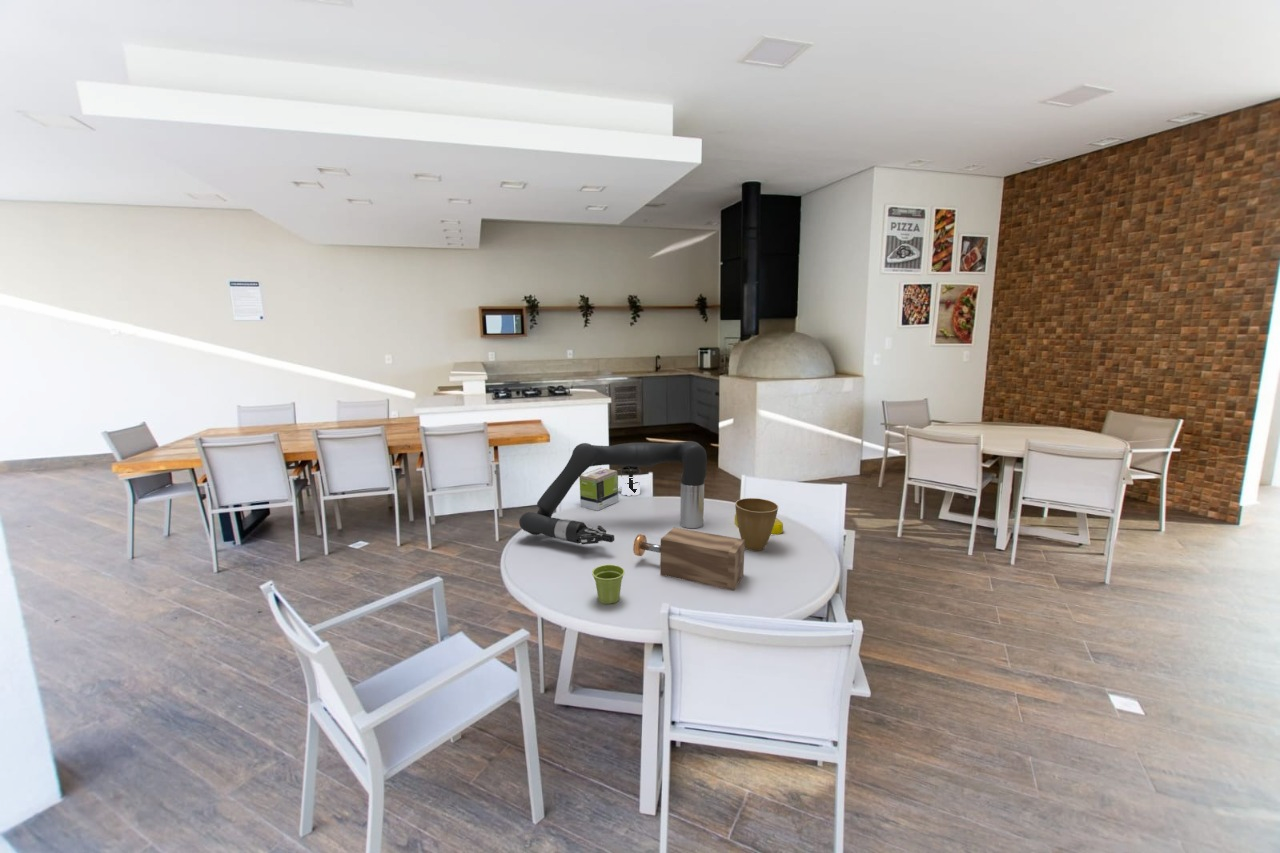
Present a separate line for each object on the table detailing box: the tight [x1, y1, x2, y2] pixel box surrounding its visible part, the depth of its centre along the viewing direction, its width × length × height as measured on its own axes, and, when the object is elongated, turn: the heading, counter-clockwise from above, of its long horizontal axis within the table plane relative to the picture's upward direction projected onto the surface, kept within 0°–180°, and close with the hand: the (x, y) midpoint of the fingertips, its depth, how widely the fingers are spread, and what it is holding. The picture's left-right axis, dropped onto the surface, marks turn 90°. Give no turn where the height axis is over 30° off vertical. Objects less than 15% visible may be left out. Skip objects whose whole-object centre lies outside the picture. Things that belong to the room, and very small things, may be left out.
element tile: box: [734, 513, 784, 535], centre depth 212 cm, size 15×15×5 cm
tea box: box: [579, 467, 619, 512], centre depth 238 cm, size 15×10×15 cm
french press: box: [616, 466, 641, 493], centre depth 252 cm, size 12×9×23 cm
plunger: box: [632, 534, 661, 557], centre depth 177 cm, size 7×21×7 cm, turn 65°
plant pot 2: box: [734, 497, 779, 552], centre depth 193 cm, size 15×15×16 cm
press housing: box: [659, 527, 745, 591], centre depth 171 cm, size 11×24×12 cm, turn 65°
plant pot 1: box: [591, 564, 625, 605], centre depth 157 cm, size 9×9×9 cm
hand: (613, 538), depth 185 cm, fingers closed
